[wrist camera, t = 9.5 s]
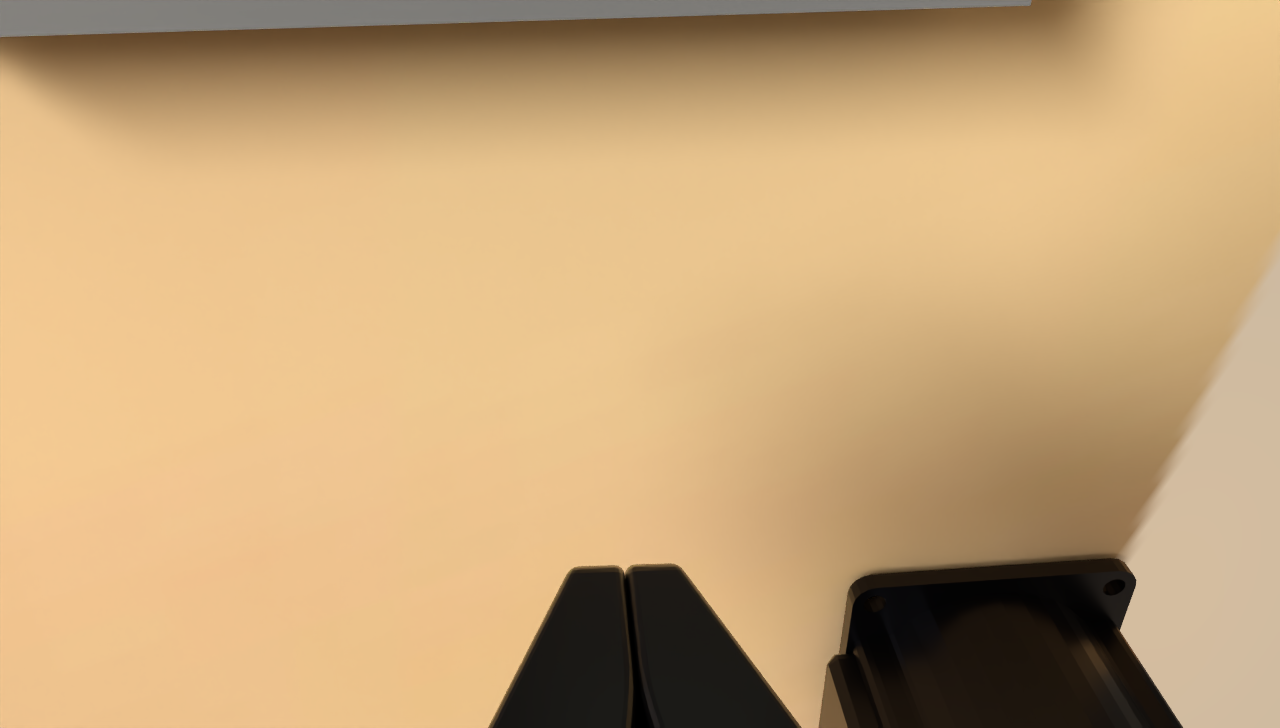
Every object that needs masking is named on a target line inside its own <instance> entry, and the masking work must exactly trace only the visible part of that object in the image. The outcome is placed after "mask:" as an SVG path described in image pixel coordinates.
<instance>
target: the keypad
mask: <svg viewBox="0 0 1280 728" xmlns="http://www.w3.org/2000/svg"><path fill="white" fill-rule="evenodd" d="M1031 1H1032V0H0V37H15V36H48V35H80V34H113V33H146V32H179V31H212V30H245V29H278V28H311V27H344V26H377V25H409V24H442V23H475V22H508V21H541V20H574V19H607V18H640V17H673V16H705V15H738V14H771V13H804V12H837V11H870V10H903V9H936V8H969V7H1002V6H1031Z"/></svg>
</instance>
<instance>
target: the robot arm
mask: <svg viewBox="0 0 1280 728" xmlns="http://www.w3.org/2000/svg"><path fill="white" fill-rule="evenodd" d="M1135 586H1136V579H1135V577H1134V575H1133V574H1132V572H1131V571H1130V569H1129V568H1128V567H1127V565H1126V564H1125V562H1123V561H1121V560H1119V559H1097V560H1083V561H1068V562H1053V563H1039V564H1024V565H1010V566H995V567H980V568H966V569H951V570H936V571H922V572H907V573H892V574H878V575H869V576H865V577H862V578H860V579H858V580H856V581H855V582H854V583H853V584H852V585H851V586H850V589H849V591H848V595H847V602H846V609H845V616H844V623H843V630H842V637H841V644H840V651H839V654H836V655H834V656H833V657H832V659H831V660H830V661H829V663H828V664H827V669H826V676H825V684H824V691H823V699H822V706H821V714H820V721H819V728H1183V727H1182V725H1181V724H1180V722H1179V721H1178V719H1177V718H1176V716H1175V715H1174V713H1173V712H1172V710H1171V709H1170V707H1169V706H1168V704H1167V702H1166V701H1165V699H1164V698H1163V697H1162V695H1161V693H1160V692H1159V690H1158V689H1157V687H1156V686H1155V684H1154V682H1153V681H1152V679H1151V678H1150V677H1149V675H1148V673H1147V672H1146V670H1145V669H1144V667H1143V666H1142V664H1141V663H1140V661H1139V660H1138V658H1137V657H1136V655H1135V654H1134V652H1133V651H1132V649H1131V647H1130V646H1129V644H1128V643H1127V642H1126V640H1125V638H1124V637H1123V635H1122V634H1121V632H1120V628H1121V625H1122V622H1123V620H1124V617H1125V614H1126V611H1127V608H1128V606H1129V603H1130V600H1131V597H1132V595H1133V592H1134V589H1135ZM873 596H876V597H875V598H872V599H869V598H870V597H873ZM488 728H801V726H800V725H799V724H798V722H797V721H796V720H795V718H794V717H793V716H792V714H791V713H790V712H789V710H788V709H787V708H786V706H785V705H784V704H783V702H782V701H781V700H780V698H779V697H778V696H777V694H776V693H775V692H774V690H773V689H772V688H771V686H770V685H769V684H768V682H767V681H766V680H765V678H764V677H763V676H762V674H761V673H760V672H759V670H758V669H757V668H756V666H755V665H754V664H753V662H752V661H751V660H750V658H749V657H748V656H747V654H746V653H745V652H744V650H743V649H742V648H741V646H740V645H739V644H738V642H737V641H736V640H735V638H734V637H733V636H732V634H731V633H730V632H729V630H728V629H727V628H726V626H725V625H724V624H723V622H722V621H721V620H720V618H719V617H718V616H717V614H716V613H715V612H714V610H713V609H712V608H711V606H710V605H709V604H708V602H707V601H706V600H705V598H704V597H703V596H702V594H701V593H700V592H699V590H698V589H697V588H696V586H695V585H694V584H693V582H692V581H691V580H690V578H689V577H688V576H687V574H686V573H685V572H684V571H683V570H682V568H681V567H679V566H678V565H675V564H641V565H631V566H630V567H629V568H628V569H627V570H626V572H625V574H624V571H623V570H622V568H620V567H619V566H615V565H610V566H581V567H575V568H573V569H571V570H570V571H569V572H568V574H567V575H566V577H565V579H564V581H563V583H562V585H561V587H560V588H559V590H558V592H557V594H556V596H555V598H554V600H553V602H552V604H551V606H550V608H549V610H548V612H547V614H546V616H545V618H544V620H543V622H542V624H541V626H540V628H539V630H538V631H537V633H536V635H535V637H534V639H533V641H532V643H531V645H530V647H529V649H528V651H527V653H526V655H525V657H524V659H523V661H522V663H521V665H520V667H519V669H518V671H517V673H516V674H515V676H514V678H513V680H512V682H511V684H510V686H509V688H508V690H507V692H506V694H505V696H504V698H503V700H502V702H501V704H500V706H499V708H498V710H497V712H496V714H495V716H494V717H493V719H492V721H491V723H490V725H489V727H488Z"/></svg>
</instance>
